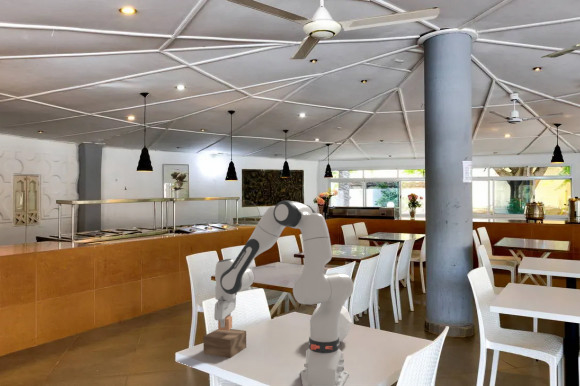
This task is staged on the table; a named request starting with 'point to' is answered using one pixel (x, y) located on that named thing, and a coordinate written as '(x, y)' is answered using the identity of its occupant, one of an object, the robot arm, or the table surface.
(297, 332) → the table surface
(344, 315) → the polyhedron
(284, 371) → the table surface
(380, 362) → the table surface
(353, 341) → the table surface
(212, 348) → the walnut box
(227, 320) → the cube
